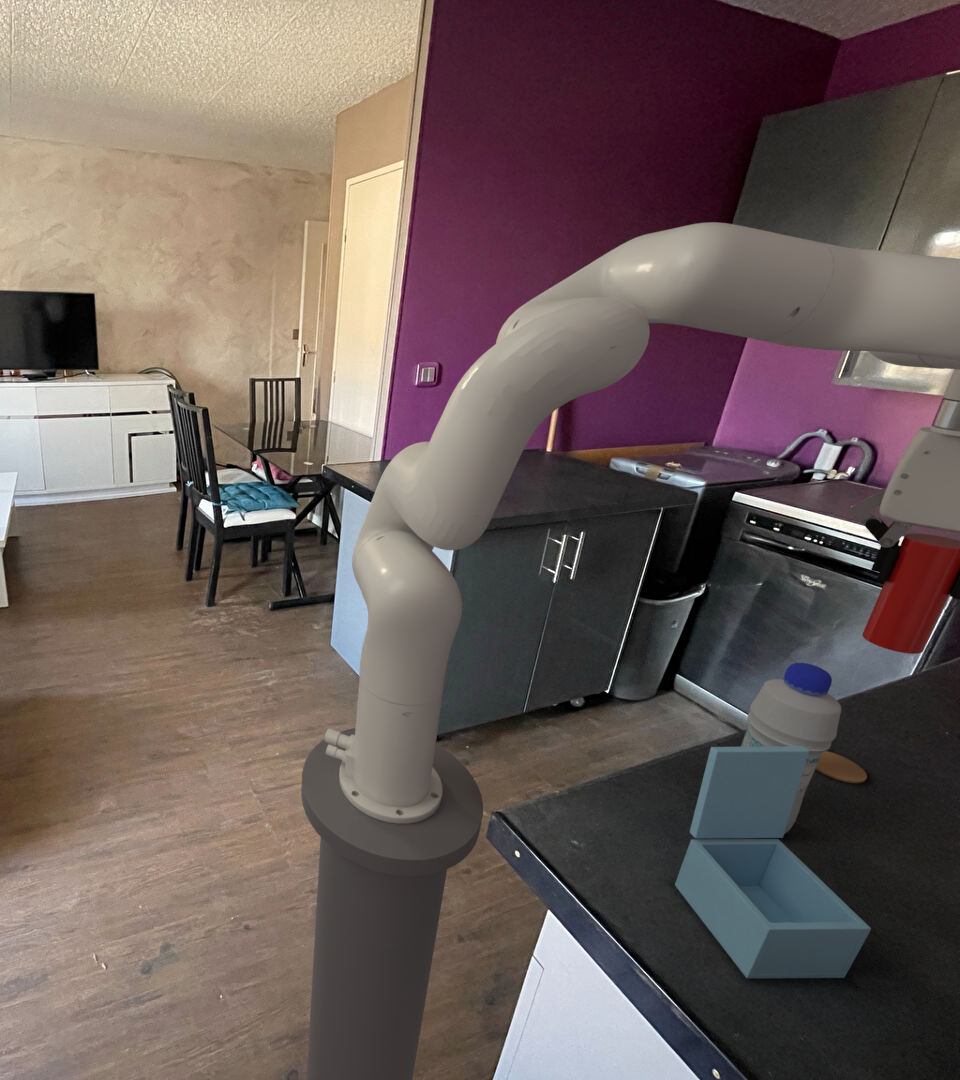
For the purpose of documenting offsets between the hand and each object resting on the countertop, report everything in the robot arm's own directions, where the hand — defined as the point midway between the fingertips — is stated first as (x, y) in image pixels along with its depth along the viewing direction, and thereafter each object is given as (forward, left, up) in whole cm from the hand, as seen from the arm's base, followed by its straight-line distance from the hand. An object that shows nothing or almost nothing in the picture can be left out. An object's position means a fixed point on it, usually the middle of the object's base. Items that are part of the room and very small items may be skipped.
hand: (917, 585), depth 64 cm
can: (0, 0, -7) cm, 7 cm away
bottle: (-10, -16, -25) cm, 32 cm away
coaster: (0, 0, -25) cm, 25 cm away
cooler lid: (-15, -28, -14) cm, 35 cm away
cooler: (-12, -32, -25) cm, 42 cm away
